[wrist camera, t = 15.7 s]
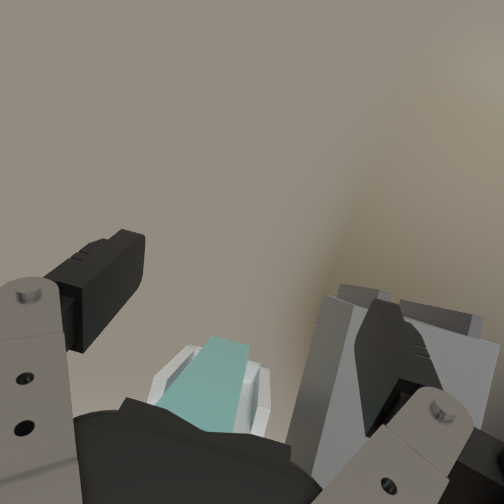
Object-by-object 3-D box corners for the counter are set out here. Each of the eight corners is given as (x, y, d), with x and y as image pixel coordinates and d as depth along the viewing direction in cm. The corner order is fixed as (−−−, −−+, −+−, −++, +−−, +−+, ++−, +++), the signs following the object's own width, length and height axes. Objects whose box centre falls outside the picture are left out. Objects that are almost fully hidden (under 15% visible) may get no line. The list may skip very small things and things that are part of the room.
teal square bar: (124, 498, 16) (148, 412, 16) (202, 373, 36) (212, 335, 36) (208, 524, 16) (231, 437, 16) (240, 384, 36) (250, 346, 36)
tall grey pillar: (232, 786, 23) (359, 284, 25) (244, 598, 36) (326, 280, 38) (384, 839, 23) (505, 323, 24) (340, 629, 36) (420, 304, 37)
